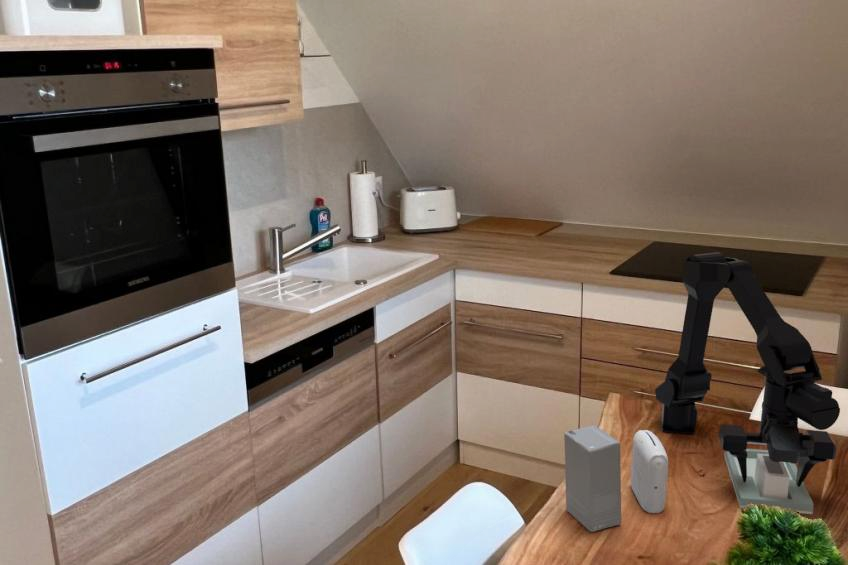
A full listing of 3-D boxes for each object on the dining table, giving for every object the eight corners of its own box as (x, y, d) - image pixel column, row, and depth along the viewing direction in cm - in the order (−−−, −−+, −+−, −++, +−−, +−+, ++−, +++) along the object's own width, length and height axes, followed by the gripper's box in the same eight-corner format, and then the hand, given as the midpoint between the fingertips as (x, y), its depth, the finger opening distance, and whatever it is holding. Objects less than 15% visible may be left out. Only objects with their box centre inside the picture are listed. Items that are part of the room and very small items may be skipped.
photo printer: (667, 513, 144) (672, 450, 141) (643, 514, 144) (647, 451, 140) (650, 483, 154) (654, 423, 150) (627, 484, 154) (631, 424, 150)
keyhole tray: (740, 507, 145) (741, 498, 145) (724, 455, 163) (725, 446, 163) (812, 514, 143) (813, 504, 143) (788, 460, 161) (789, 451, 160)
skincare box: (621, 525, 141) (626, 442, 136) (586, 535, 138) (590, 451, 134) (594, 501, 148) (598, 421, 144) (560, 509, 146) (563, 429, 141)
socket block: (762, 502, 146) (765, 474, 144) (754, 479, 153) (757, 452, 152) (786, 504, 145) (789, 476, 144) (776, 481, 153) (780, 454, 151)
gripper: (731, 421, 138) (723, 502, 143) (851, 429, 135) (838, 512, 139) (722, 394, 149) (714, 470, 153) (832, 401, 145) (821, 479, 150)
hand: (770, 483), depth 149 cm, fingers open, 9 cm apart
